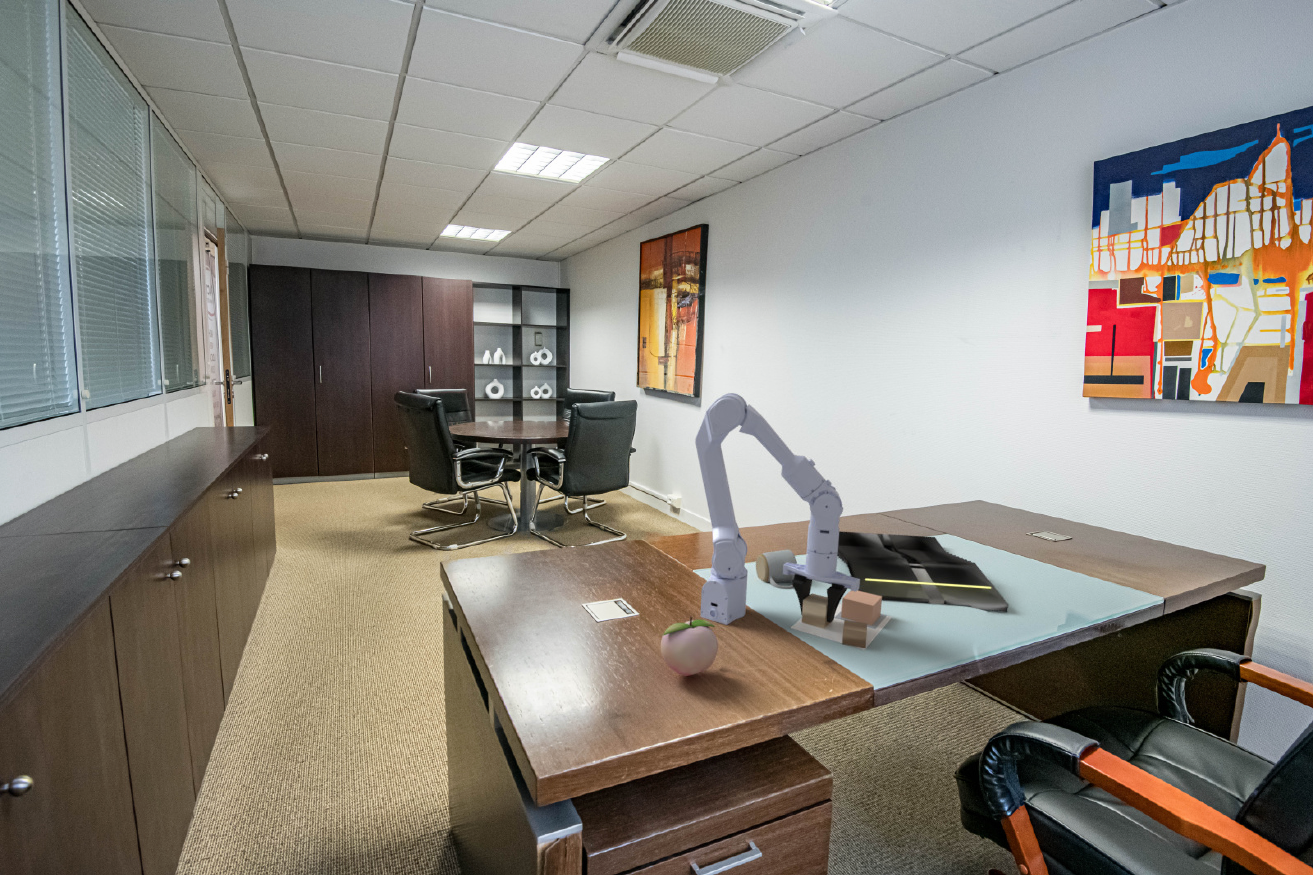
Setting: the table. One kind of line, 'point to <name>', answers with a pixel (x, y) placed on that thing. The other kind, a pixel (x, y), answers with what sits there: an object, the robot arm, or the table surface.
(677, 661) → the decorative fruit
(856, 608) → the terracotta block
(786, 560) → the ceramic mug
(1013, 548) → the table surface
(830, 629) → the mat
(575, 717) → the table surface
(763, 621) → the table surface
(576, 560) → the table surface
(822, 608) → the maple block
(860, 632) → the block
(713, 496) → the robot arm
